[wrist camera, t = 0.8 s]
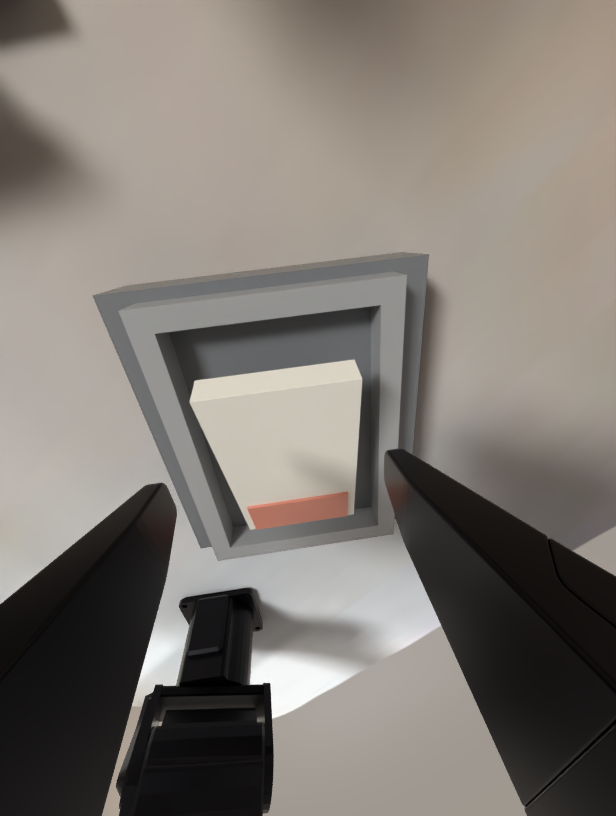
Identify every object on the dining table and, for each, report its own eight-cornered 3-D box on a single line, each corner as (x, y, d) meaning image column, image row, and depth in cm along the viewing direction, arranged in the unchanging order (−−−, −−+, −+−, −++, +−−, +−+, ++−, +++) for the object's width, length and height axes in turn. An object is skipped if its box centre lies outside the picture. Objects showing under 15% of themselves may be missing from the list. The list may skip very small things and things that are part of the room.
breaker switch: (349, 495, 18) (354, 516, 17) (250, 510, 18) (250, 532, 17) (354, 359, 11) (363, 381, 10) (194, 380, 11) (188, 405, 10)
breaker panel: (392, 485, 23) (416, 535, 19) (209, 512, 23) (195, 569, 19) (402, 252, 15) (446, 255, 11) (124, 286, 15) (71, 302, 11)
